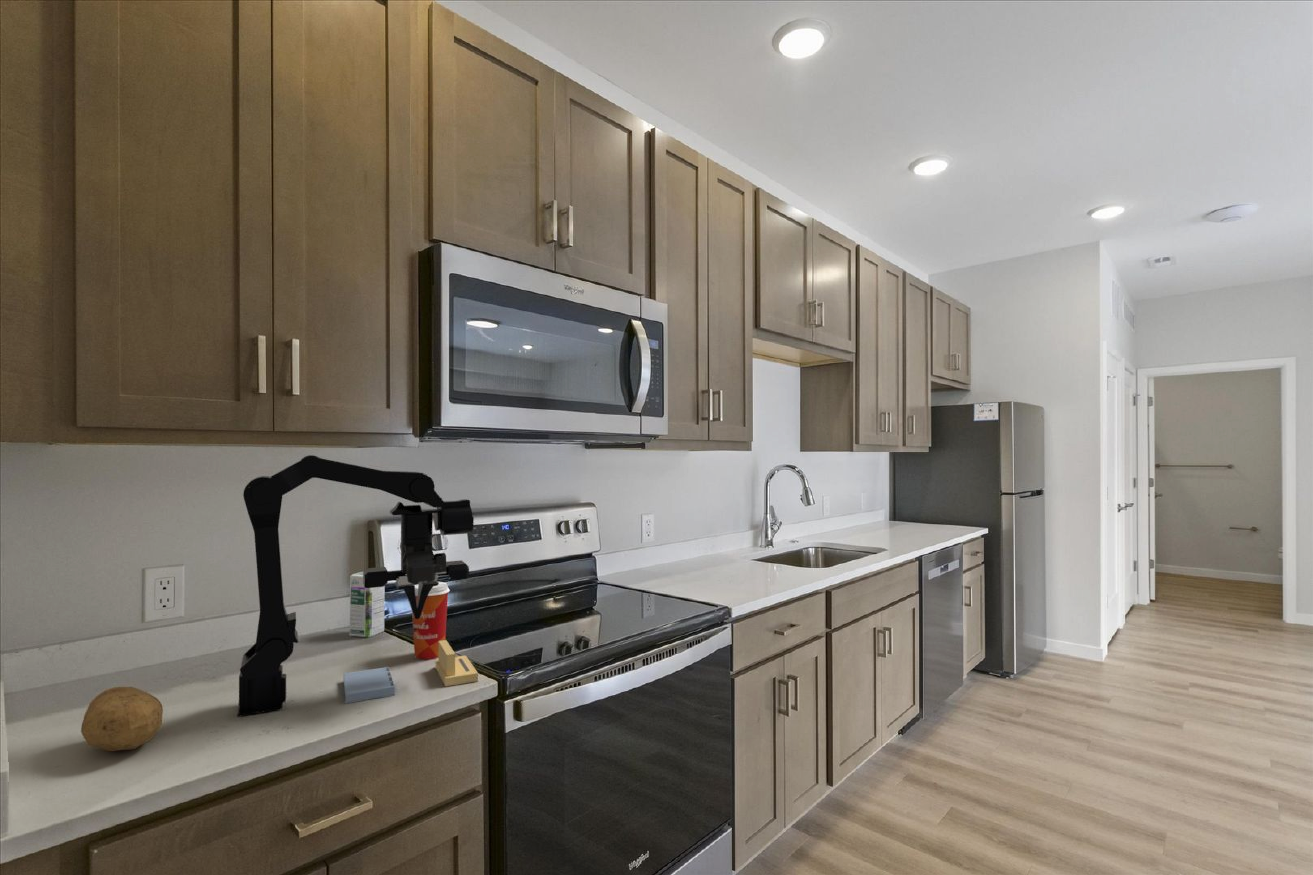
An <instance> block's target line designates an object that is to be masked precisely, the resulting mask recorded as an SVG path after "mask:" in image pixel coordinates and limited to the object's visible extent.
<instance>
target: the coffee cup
mask: <svg viewBox="0 0 1313 875" xmlns="http://www.w3.org/2000/svg"><path fill="white" fill-rule="evenodd" d="M438 583H439V584H438V585H437V586H433V587H432V589H431V590H430V592H429V594H428V596H427V598H426V601H425V604H424V607H423V610H422V613H421V616H420V619H415V618H414V615H413V612H412V611H411V617H412V634H413V635H412V636H413V637H412V638H413V648H414V650H413V651H414V658H416V659H418V660H434V659H439V641H443V640H446V635H447V634H446V633H447V632H446V631H447V620H448V619H447V616H448V614H447V613H448V598H449V597H448V596H449V592H450V591H451V590H450V588H449V586H448V583H446V582H443V581H438ZM414 585H415V596H416V604H417V597H418V585H419V583H415V584H414Z"/></svg>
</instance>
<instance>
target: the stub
mask: <svg viewBox="0 0 1313 875" xmlns="http://www.w3.org/2000/svg"><path fill="white" fill-rule="evenodd" d="M434 665H435V667H434V668H435V669H436V671H437V673H438V675H439V678H440V679H441V681H442V682H443V684H444V686H445V687H451V686H458V685H463V684H468V683H474V682H475V683H476V682H478V681H479V672H478V671H477V670H476V668H475V666H474V665H473V664H472V663H471V661H470V660H469V658H468V657H467V655H458V656H456V652H455V651H454V650H453V648H452V646H451V645H450V644H449V642H448V641H447V639H445V640H443V641H439V657H438V658H437V659H435V662H434Z"/></svg>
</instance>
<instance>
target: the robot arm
mask: <svg viewBox="0 0 1313 875" xmlns="http://www.w3.org/2000/svg"><path fill="white" fill-rule="evenodd" d="M312 479H320V480H321V479H322V480H326V481H332V482H336V483H341V484H342V483H343V484H347V485H353V486H356V487H357V486H358V487H363V488H368V489H373V490H374V489H375V490H379V491H383V492H386V493H388V494H390V495H393V496H396V497H398V498H401V499H404V500H406V501H409V502H411V503H414V504H411V505H410V504H409V505H404V504H403V502H401V501H398V502H397V503H396V504H395V506H394V507H393V508H392V509H390V511H389V514H390V515H392V516H400V569H397V570H388V569H387V567H386V566H380V567H379V566H378V567H370V568H369V567H368V568H365V569H364V571H362V572H363V584H364V588H375V587H383V586H384V585H387V584H388V582H392V581H395V582H394V583H395V586H396V588H397V589H398V590H403V592H404V594H405V595H406V598H407V601H408V603H409V606H410V608H411V613H412V612H413V615H414V618H415V619H420V616H421V613H422V610H423V607H424V604H425V601H426V598H427V596H428V594H429V592H430V590H431V589H432V587H433V586H437V585H438V584H439V583H438V582H439V581H438V578H439V577H446V576H448V577H449V578H450V579H451V580H453V581H456V580H465V579H469V578H470V566H469V565H468V564H467V563H465V562H464V561H463V560H462V559H461V560H451V561H450V560H449V561H447V554H446V552H442V553H441V552H439V553H438V552H437V553H435V554H434V552H433V544H434V543H433V526H434V530H435V531H439V532H440V536H451V535H453V536H454V535H465V534H472V532H473V529H474V523H475V522H474V516H473V510H472V507H471V500H470V499H466V498H465V499H464V498H463V499H459V500H458V499H457V500H445V501H444V499H443V498H442V497H441V496H440V495H439V494H438V493H437V492H436V490H435V488H436V487H435V486H436V485H435V483H434V482H435V481H434V480H433V479H432V477H431V476H430V475H428V474H426V473H424V472H420V471H407V470H406V471H405V470H404V471H403V470H401V471H400V470H382V469H375V468H371V467H365V466H361V465H357V464H351V463H346V462H341V461H335V460H330V459H326V458H321V457H319V456H317V455H311V454H310V455H305V456H303V457H302V458H301V459H300V460H299V461H296V462H295V463H294V464H291V465H289V466H288V467H286V468H284V469H282V470H280V471H278V472H276V473H275V474H273V475H271V476H269V475H261V476H257V477H255V478H254V479H251V480H250V481H249V482H248V483H247V484H246V486H244V490H243V494H242V496H243V500H244V501H243V502H244V504H245V507H246V510H247V514H248V517H249V521H250V523H251V526H252V529H253V534H254V546H255V559H256V561H255V562H256V573H257V575H256V576H257V588H258V602H259V614H258V615H259V616H258V625H257V631H256V638H255V639H256V641H255V643H254V644H253V645H252V646H250V648H249V649H248V650H246V652H245V653H244V654H243V655H242V659H241V664H240V668H239V671H240V673H239V675H238V708H237V712H236V716H237V717H240V716H242V717H243V716H246V715H252V714H260V713H266V712H272V711H278V710H281V709H282V708H283V703H285V702H286V700H287V674H286V673H283V672H284V671H283V668H284V667H283V665H282V663H284V662H286V660H288V659H289V657H291V656H292V654H293V652H294V644H298V643H299V637H298V636H299V635H298V634H299V633H298V631H297V629H296V627H297V626H296V625H297V613H296V611H294V612H291V613H287V609H286V606H285V603H284V601H285V600H284V599H285V598H284V590H283V589H284V588H283V576H282V575H283V574H282V561H281V559H282V558H281V546H280V545H281V544H280V532H279V525H280V518H281V510H282V501H283V496H284V495H286V494H287V493H290V492H292V491H293V490H294V489H296V488H298V487H299V486H302V485H304V483H306V482H308V481H310V480H312ZM415 503H417V504H415ZM421 503H423V504H425V505H427V506H429V507H432V508H433V509H431V508H430V509H427V508H426V509H422V506H421V505H420V504H421ZM433 514H434V516H433ZM433 523H434V524H433ZM416 584H419V585H418V597H417V604H416V596H415V585H416Z"/></svg>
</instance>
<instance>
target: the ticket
mask: <svg viewBox="0 0 1313 875" xmlns="http://www.w3.org/2000/svg"><path fill="white" fill-rule="evenodd" d="M395 687H396V686H395V684H394V680H393V677H392V674H391V670H390V667H389V666H385V667H379V668H373V669H365V670H360V671H359V670H358V671H353V672H345V673H343V689H344V700H345V701H344V702H345V704H350V703H357V702H363V701H367V700H372V699H381V698H386V697H392V696H395V695H396V690H395V689H396V688H395Z"/></svg>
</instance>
